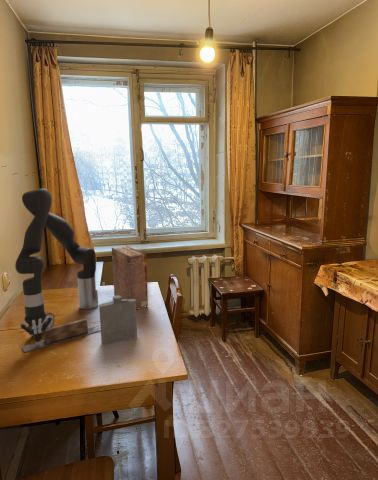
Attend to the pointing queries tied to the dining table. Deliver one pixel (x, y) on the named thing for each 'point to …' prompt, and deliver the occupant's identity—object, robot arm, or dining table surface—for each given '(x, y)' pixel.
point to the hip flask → (118, 320)
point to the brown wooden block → (65, 330)
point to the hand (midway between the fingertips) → (38, 340)
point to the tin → (44, 321)
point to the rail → (43, 343)
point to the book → (130, 275)
